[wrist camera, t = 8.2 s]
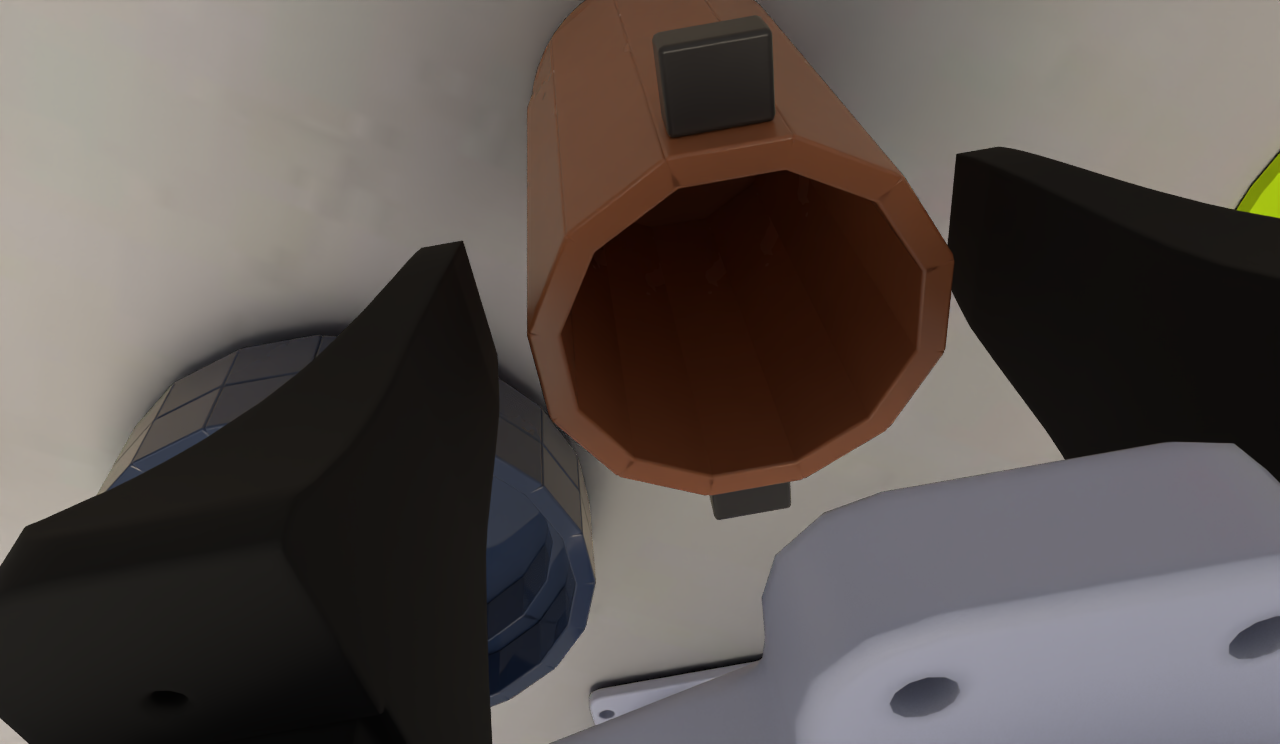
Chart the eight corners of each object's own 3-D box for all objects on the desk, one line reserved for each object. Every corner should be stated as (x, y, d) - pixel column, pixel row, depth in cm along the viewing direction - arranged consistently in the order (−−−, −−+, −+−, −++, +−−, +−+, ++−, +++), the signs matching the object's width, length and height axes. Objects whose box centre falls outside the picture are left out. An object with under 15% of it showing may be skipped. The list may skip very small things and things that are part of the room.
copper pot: (795, 246, 19) (929, 505, 13) (568, 286, 19) (588, 565, 13) (786, -116, 15) (985, 3, 8) (489, -64, 15) (461, 95, 8)
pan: (615, 597, 26) (625, 692, 23) (249, 661, 26) (218, 763, 23) (537, 283, 19) (538, 369, 16) (34, 371, 19) (-42, 471, 16)
